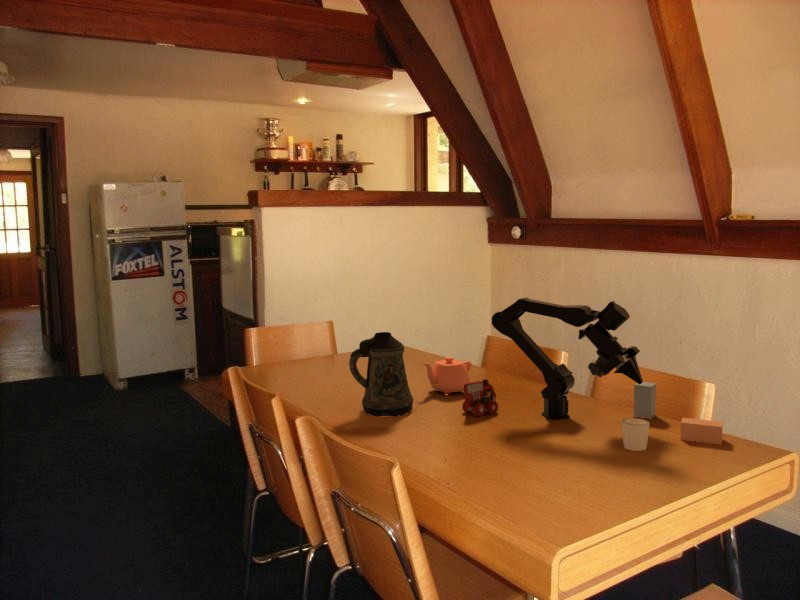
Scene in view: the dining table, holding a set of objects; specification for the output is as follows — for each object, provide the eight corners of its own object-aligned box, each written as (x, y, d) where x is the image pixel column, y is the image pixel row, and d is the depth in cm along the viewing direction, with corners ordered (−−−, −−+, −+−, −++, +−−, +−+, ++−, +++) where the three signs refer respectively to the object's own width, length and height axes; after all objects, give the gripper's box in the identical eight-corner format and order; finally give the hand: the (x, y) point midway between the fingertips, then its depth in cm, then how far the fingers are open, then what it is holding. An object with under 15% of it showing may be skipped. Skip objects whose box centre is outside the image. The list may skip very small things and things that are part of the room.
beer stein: (424, 408, 218) (422, 332, 215) (381, 422, 204) (379, 340, 201) (387, 400, 230) (385, 327, 227) (344, 413, 216) (342, 335, 213)
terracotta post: (680, 422, 183) (721, 426, 178) (682, 417, 187) (722, 421, 183) (680, 440, 184) (721, 445, 179) (682, 435, 188) (722, 439, 183)
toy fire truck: (502, 411, 213) (502, 379, 212) (472, 419, 206) (472, 385, 205) (488, 407, 219) (487, 375, 218) (458, 414, 212) (457, 381, 211)
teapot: (413, 391, 241) (413, 357, 239) (461, 384, 250) (460, 351, 248) (433, 400, 229) (432, 364, 227) (482, 391, 238) (481, 357, 237)
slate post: (633, 417, 205) (634, 384, 204) (638, 413, 209) (639, 381, 208) (650, 419, 202) (651, 386, 201) (655, 415, 206) (656, 383, 205)
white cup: (648, 444, 181) (649, 418, 180) (649, 452, 174) (649, 426, 173) (621, 441, 183) (622, 416, 182) (621, 450, 176) (621, 424, 175)
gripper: (594, 353, 208) (630, 393, 203) (572, 364, 193) (610, 407, 187) (621, 329, 202) (658, 370, 197) (600, 339, 187) (639, 383, 182)
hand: (641, 383), depth 191 cm, fingers closed
